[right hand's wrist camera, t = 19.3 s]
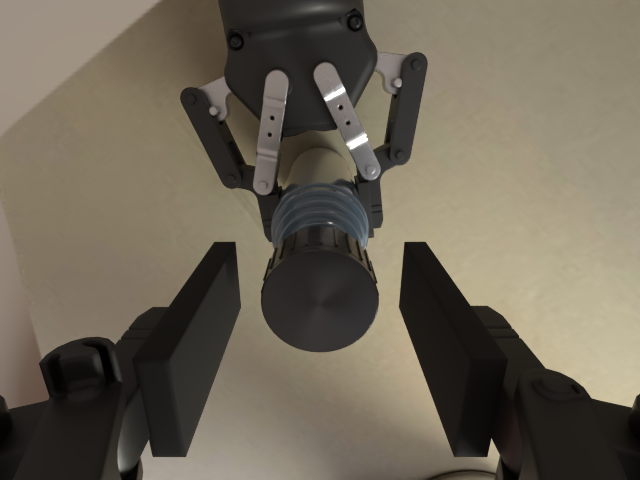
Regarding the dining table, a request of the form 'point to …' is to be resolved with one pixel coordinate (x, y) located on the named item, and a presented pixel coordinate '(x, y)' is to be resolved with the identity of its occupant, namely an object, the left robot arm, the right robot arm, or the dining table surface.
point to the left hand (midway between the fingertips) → (326, 238)
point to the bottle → (320, 198)
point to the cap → (319, 290)
